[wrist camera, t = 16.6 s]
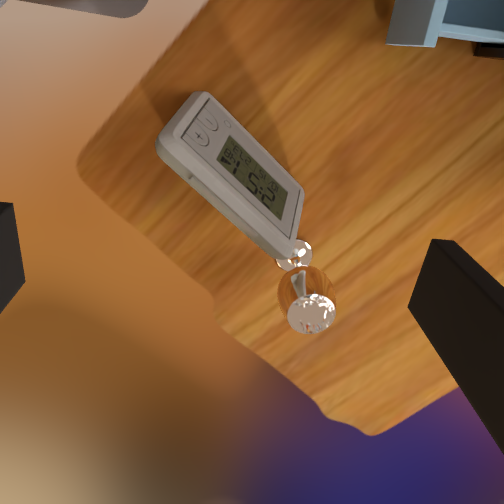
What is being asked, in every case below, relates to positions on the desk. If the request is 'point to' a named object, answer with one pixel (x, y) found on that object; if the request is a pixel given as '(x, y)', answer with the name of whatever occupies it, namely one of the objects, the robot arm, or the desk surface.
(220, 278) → the desk surface
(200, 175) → the digital clock
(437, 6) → the light blue plastic piece
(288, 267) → the wineglass
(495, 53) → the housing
